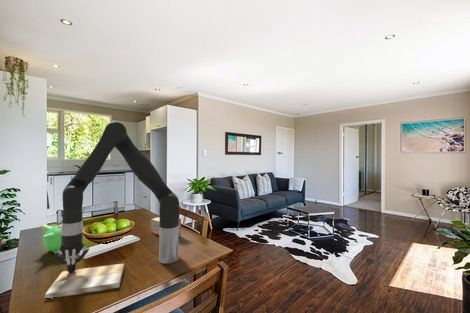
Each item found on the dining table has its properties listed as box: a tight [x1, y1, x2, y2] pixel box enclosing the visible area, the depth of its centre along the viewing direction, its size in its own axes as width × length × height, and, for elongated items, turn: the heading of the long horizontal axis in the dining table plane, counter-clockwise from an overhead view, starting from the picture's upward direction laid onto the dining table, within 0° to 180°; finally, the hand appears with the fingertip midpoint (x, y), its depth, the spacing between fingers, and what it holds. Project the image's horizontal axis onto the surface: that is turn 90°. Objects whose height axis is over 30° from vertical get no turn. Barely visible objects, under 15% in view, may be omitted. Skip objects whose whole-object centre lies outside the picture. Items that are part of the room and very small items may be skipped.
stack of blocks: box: [150, 216, 182, 238], centre depth 147 cm, size 21×6×12 cm, turn 60°
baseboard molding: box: [77, 234, 141, 260], centre depth 127 cm, size 31×3×12 cm
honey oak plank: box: [54, 263, 125, 282], centre depth 97 cm, size 24×8×2 cm, turn 110°
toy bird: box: [39, 223, 62, 253], centre depth 121 cm, size 18×17×15 cm
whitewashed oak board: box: [44, 272, 123, 299], centre depth 89 cm, size 24×8×2 cm, turn 110°
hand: (71, 272), depth 96 cm, fingers closed
